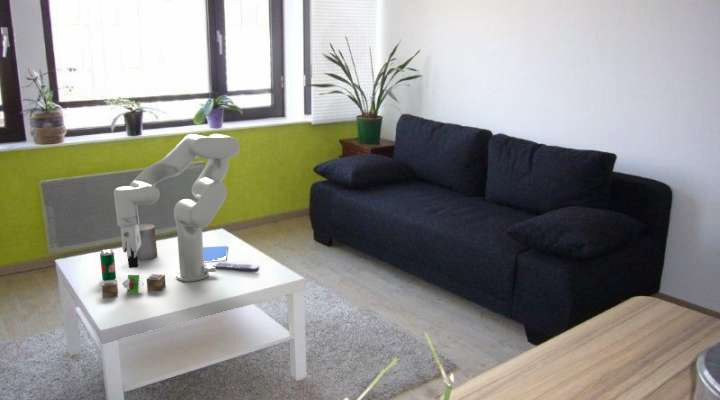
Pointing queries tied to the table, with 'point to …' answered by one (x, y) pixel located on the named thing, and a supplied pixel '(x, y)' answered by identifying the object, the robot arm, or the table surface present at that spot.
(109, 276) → the soda can
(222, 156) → the robot arm
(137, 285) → the geometric puzzle
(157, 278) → the marked block 2
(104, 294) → the marked block 1
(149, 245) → the pillar candle
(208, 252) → the tablet computer
